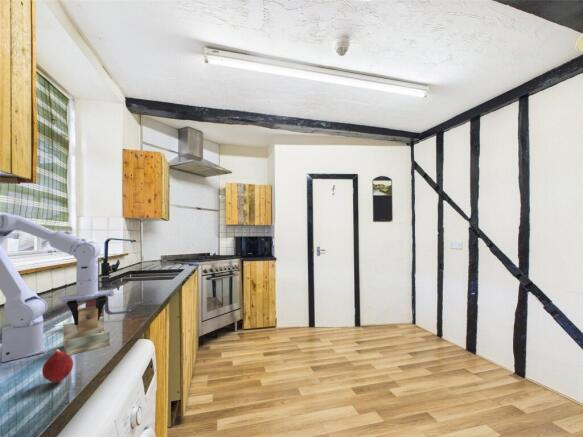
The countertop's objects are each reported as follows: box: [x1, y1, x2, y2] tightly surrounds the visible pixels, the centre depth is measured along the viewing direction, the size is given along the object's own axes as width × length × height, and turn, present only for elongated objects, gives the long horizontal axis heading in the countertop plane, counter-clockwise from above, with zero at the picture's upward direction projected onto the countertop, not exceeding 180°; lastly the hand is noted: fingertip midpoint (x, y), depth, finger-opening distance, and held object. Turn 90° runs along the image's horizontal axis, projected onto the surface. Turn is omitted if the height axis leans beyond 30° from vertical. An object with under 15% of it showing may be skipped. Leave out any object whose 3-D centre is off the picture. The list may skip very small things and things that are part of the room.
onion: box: [41, 348, 74, 384], centre depth 71 cm, size 6×6×8 cm
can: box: [84, 286, 105, 318], centre depth 116 cm, size 6×6×14 cm
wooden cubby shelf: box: [62, 316, 111, 356], centre depth 94 cm, size 11×10×7 cm
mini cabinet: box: [76, 306, 98, 332], centre depth 94 cm, size 5×6×6 cm
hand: (87, 322), depth 94 cm, fingers closed on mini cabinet, 5 cm apart
